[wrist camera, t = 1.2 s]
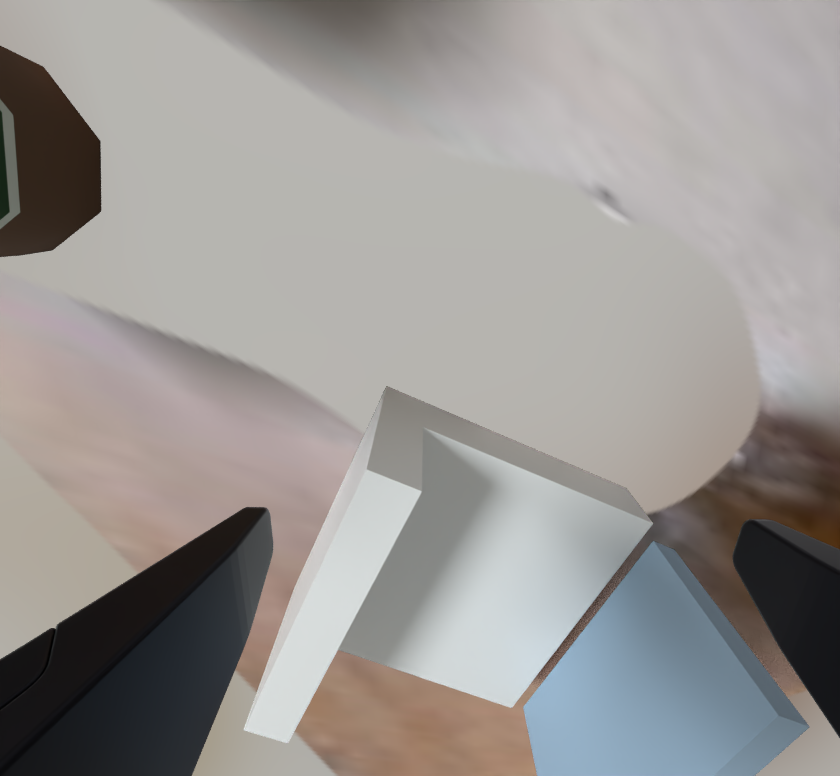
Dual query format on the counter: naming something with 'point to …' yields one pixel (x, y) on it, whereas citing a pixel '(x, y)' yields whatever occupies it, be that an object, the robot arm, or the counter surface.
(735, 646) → the panel
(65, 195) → the beer bottle
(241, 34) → the counter surface
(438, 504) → the white stepped block
